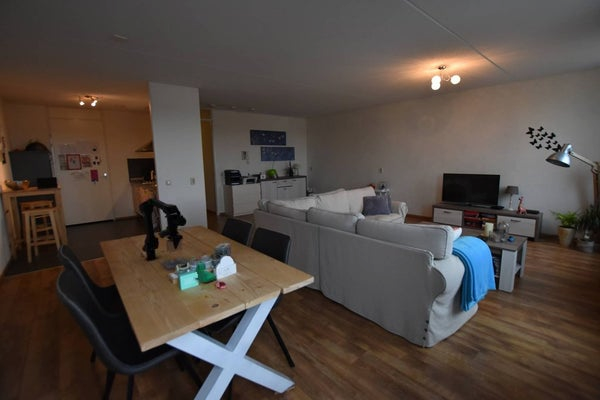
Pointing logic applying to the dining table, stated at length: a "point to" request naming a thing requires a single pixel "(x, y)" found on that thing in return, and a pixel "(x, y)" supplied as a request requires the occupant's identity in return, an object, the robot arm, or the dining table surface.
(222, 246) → the light bulb box
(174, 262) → the base plate
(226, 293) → the dining table surface
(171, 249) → the housing
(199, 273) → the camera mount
